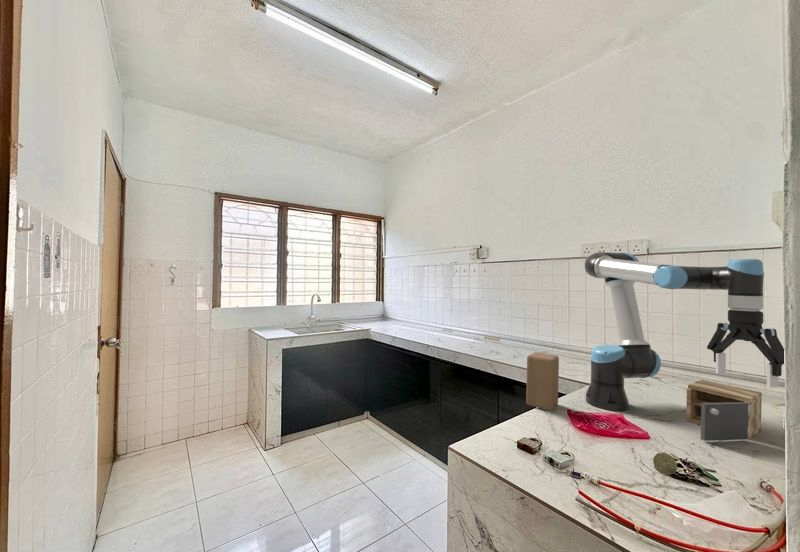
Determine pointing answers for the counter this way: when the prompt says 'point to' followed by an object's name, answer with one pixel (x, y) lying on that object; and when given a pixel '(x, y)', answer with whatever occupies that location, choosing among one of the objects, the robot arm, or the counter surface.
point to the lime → (665, 463)
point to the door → (725, 421)
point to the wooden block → (542, 380)
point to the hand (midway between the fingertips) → (744, 379)
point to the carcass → (722, 401)
